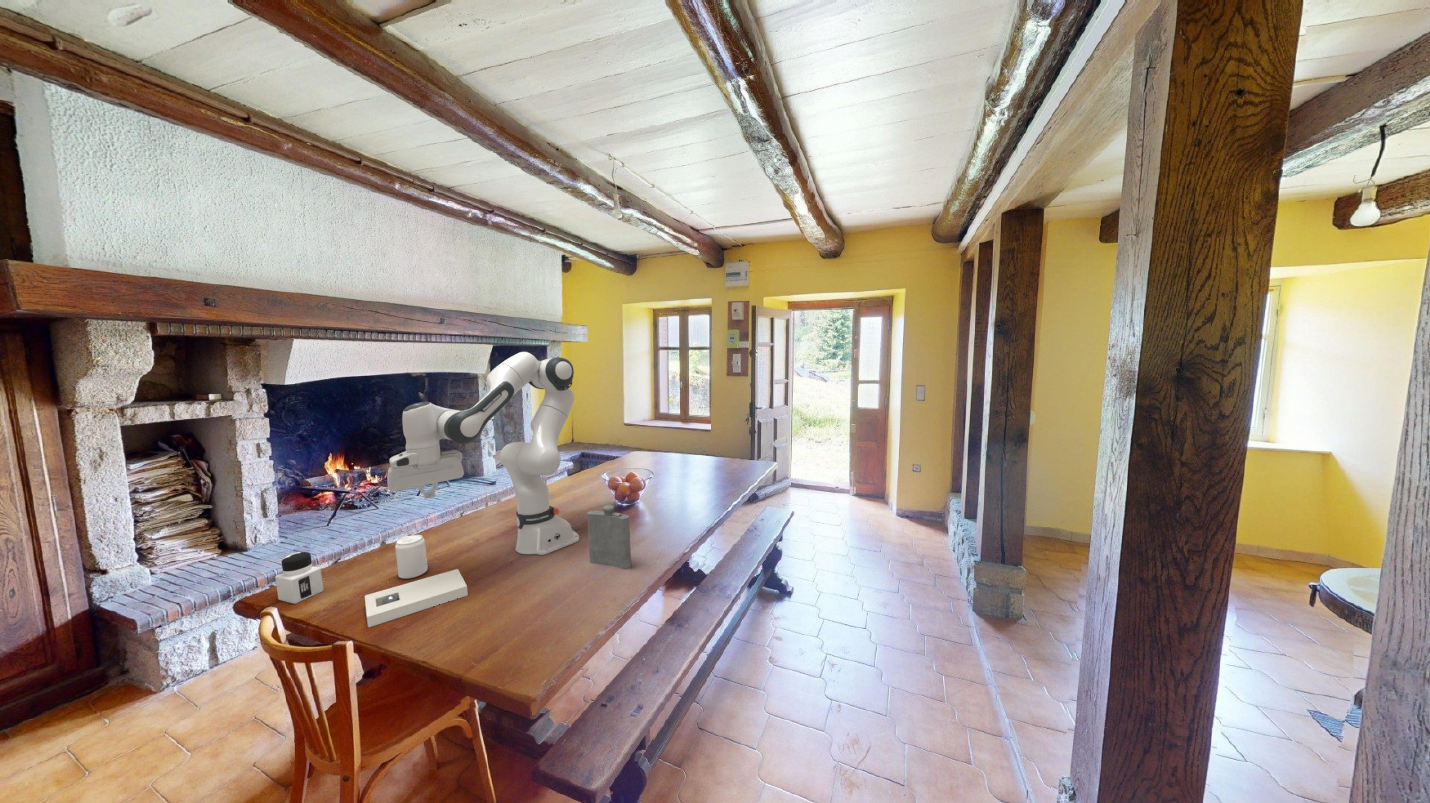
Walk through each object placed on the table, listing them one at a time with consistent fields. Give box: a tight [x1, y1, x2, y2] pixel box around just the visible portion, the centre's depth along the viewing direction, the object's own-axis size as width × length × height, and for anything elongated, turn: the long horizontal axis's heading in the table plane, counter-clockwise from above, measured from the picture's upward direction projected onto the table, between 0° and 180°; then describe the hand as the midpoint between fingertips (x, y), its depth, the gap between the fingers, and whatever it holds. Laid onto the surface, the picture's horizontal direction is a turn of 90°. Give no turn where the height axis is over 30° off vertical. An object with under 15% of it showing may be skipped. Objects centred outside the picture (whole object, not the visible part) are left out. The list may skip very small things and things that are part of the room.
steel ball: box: [382, 594, 399, 605], centre depth 131 cm, size 4×4×4 cm
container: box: [274, 551, 324, 605], centre depth 138 cm, size 8×8×13 cm
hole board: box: [364, 568, 469, 628], centre depth 135 cm, size 24×14×3 cm, turn 129°
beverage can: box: [394, 534, 428, 579], centre depth 150 cm, size 8×8×12 cm
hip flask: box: [586, 504, 632, 570], centre depth 155 cm, size 16×4×20 cm, turn 69°
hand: (429, 497), depth 144 cm, fingers closed
